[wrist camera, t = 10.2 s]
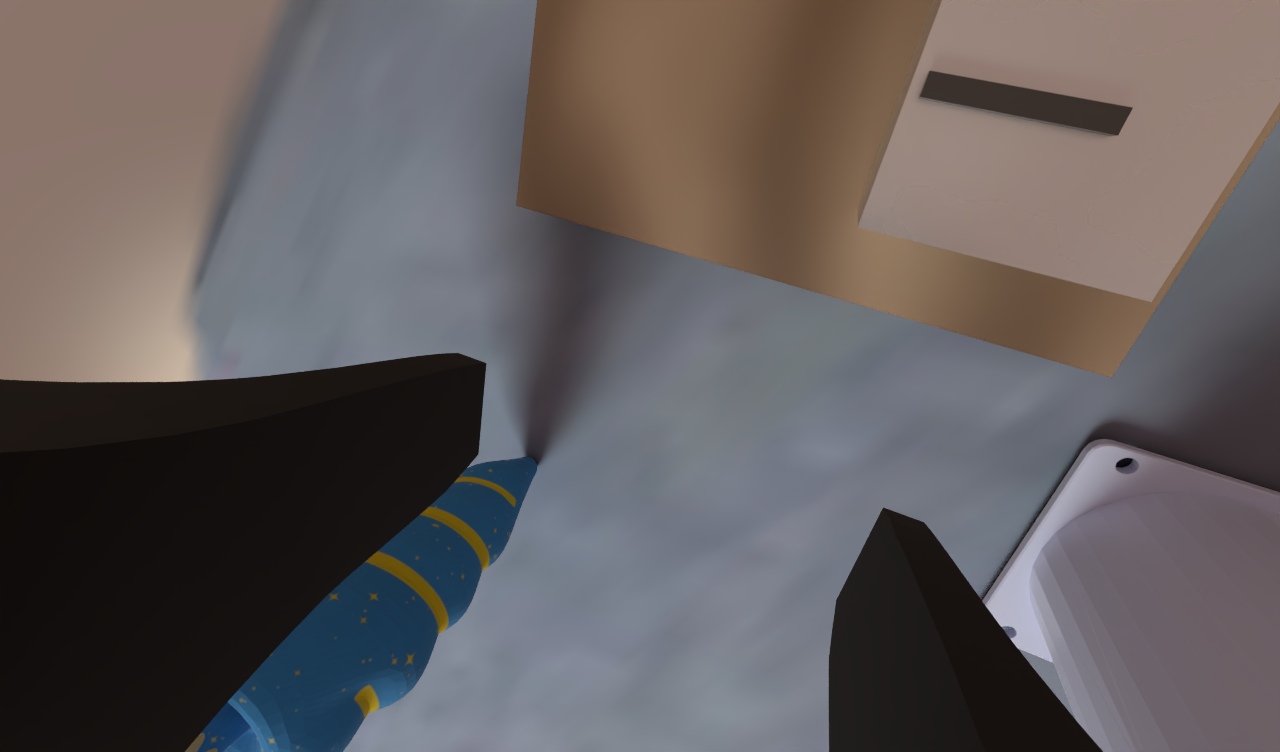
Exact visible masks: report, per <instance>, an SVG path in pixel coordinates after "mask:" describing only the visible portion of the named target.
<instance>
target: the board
mask: <svg viewBox="0 0 1280 752" xmlns="http://www.w3.org/2000/svg"><path fill="white" fill-rule="evenodd" d="M932 2H933V0H537V8H536V18H535V28H534V38H533V47H532V57H531V67H530V77H529V87H528V97H527V106H526V116H525V126H524V136H523V146H522V155H521V165H520V175H519V185H518V195H517V205H516V206H519V207H523V208H526V209H530V210H533V211H537V212H540V213H543V214H547V215H550V216H554V217H557V218H561V219H564V220H568V221H571V222H575V223H578V224H582V225H585V226H588V227H592V228H595V229H599V230H602V231H606V232H609V233H613V234H616V235H620V236H623V237H627V238H630V239H633V240H637V241H640V242H644V243H647V244H651V245H654V246H658V247H661V248H665V249H668V250H672V251H675V252H678V253H682V254H685V255H689V256H692V257H696V258H699V259H703V260H706V261H710V262H713V263H717V264H720V265H723V266H727V267H730V268H734V269H737V270H741V271H744V272H748V273H751V274H755V275H758V276H762V277H765V278H768V279H772V280H775V281H779V282H782V283H786V284H789V285H793V286H796V287H800V288H803V289H807V290H810V291H814V292H817V293H820V294H824V295H827V296H831V297H834V298H838V299H841V300H845V301H848V302H852V303H855V304H859V305H862V306H865V307H869V308H872V309H876V310H879V311H883V312H886V313H890V314H893V315H897V316H900V317H904V318H907V319H910V320H914V321H917V322H921V323H924V324H928V325H931V326H935V327H938V328H942V329H945V330H949V331H952V332H955V333H959V334H962V335H966V336H969V337H973V338H976V339H980V340H983V341H987V342H990V343H994V344H997V345H1000V346H1004V347H1007V348H1011V349H1014V350H1018V351H1021V352H1025V353H1028V354H1032V355H1035V356H1039V357H1042V358H1045V359H1049V360H1052V361H1056V362H1059V363H1063V364H1066V365H1070V366H1073V367H1077V368H1080V369H1084V370H1087V371H1090V372H1094V373H1097V374H1101V375H1104V376H1108V377H1111V378H1112V376H1113V374H1114V373H1115V371H1116V370H1117V368H1118V367H1119V365H1120V364H1121V362H1122V361H1123V359H1124V357H1125V356H1126V354H1127V353H1128V351H1129V350H1130V348H1131V347H1132V345H1133V344H1134V342H1135V340H1136V339H1137V337H1138V336H1139V334H1140V333H1141V331H1142V330H1143V328H1144V327H1145V325H1146V324H1147V322H1148V320H1149V319H1150V317H1151V316H1152V314H1153V313H1154V311H1155V310H1156V308H1157V307H1158V305H1159V303H1160V302H1161V300H1162V299H1163V297H1164V296H1165V294H1166V293H1167V291H1168V290H1169V288H1170V286H1171V285H1172V283H1173V282H1174V280H1175V279H1176V277H1177V276H1178V274H1179V273H1180V271H1181V270H1182V268H1183V266H1184V265H1185V263H1186V262H1187V260H1188V259H1189V257H1190V256H1191V254H1192V253H1193V251H1194V249H1195V248H1196V246H1197V245H1198V243H1199V242H1200V240H1201V239H1202V237H1203V236H1204V234H1205V232H1206V231H1207V229H1208V228H1209V226H1210V225H1211V223H1212V222H1213V220H1214V219H1215V217H1216V216H1217V214H1218V212H1219V211H1220V209H1221V208H1222V206H1223V205H1224V203H1225V202H1226V200H1227V199H1228V197H1229V195H1230V194H1231V192H1232V191H1233V189H1234V188H1235V186H1236V185H1237V183H1238V182H1239V180H1240V178H1241V177H1242V175H1243V174H1244V172H1245V171H1246V169H1247V168H1248V166H1249V165H1250V163H1251V161H1252V160H1253V158H1254V157H1255V155H1256V154H1257V152H1258V151H1259V149H1260V148H1261V146H1262V145H1263V143H1264V141H1265V140H1266V138H1267V137H1268V135H1269V134H1270V132H1271V131H1272V129H1273V128H1274V126H1275V124H1276V123H1277V121H1278V120H1279V118H1280V103H1279V104H1278V106H1277V107H1276V109H1275V110H1274V112H1273V113H1272V115H1271V117H1270V118H1269V120H1268V121H1267V123H1266V124H1265V126H1264V127H1263V129H1262V131H1261V132H1260V134H1259V135H1258V137H1257V138H1256V140H1255V142H1254V143H1253V145H1252V146H1251V148H1250V149H1249V151H1248V152H1247V154H1246V156H1245V157H1244V159H1243V160H1242V162H1241V163H1240V165H1239V166H1238V168H1237V170H1236V171H1235V173H1234V174H1233V176H1232V177H1231V179H1230V181H1229V182H1228V184H1227V185H1226V187H1225V188H1224V190H1223V191H1222V193H1221V195H1220V196H1219V198H1218V199H1217V201H1216V202H1215V204H1214V205H1213V207H1212V209H1211V210H1210V212H1209V213H1208V215H1207V216H1206V218H1205V220H1204V221H1203V223H1202V224H1201V226H1200V227H1199V229H1198V230H1197V232H1196V234H1195V235H1194V237H1193V238H1192V240H1191V241H1190V243H1189V245H1188V246H1187V248H1186V249H1185V251H1184V252H1183V254H1182V255H1181V257H1180V259H1179V260H1178V262H1177V263H1176V265H1175V266H1174V268H1173V269H1172V271H1171V273H1170V274H1169V276H1168V277H1167V279H1166V280H1165V282H1164V284H1163V285H1162V287H1161V288H1160V290H1159V291H1158V293H1157V294H1156V296H1155V298H1154V299H1153V301H1152V302H1149V301H1145V300H1141V299H1137V298H1133V297H1129V296H1125V295H1121V294H1117V293H1113V292H1109V291H1106V290H1102V289H1098V288H1094V287H1090V286H1086V285H1082V284H1078V283H1074V282H1070V281H1067V280H1063V279H1059V278H1055V277H1051V276H1047V275H1043V274H1039V273H1035V272H1031V271H1027V270H1024V269H1020V268H1016V267H1012V266H1008V265H1004V264H1000V263H996V262H992V261H988V260H984V259H981V258H977V257H973V256H969V255H965V254H961V253H957V252H953V251H949V250H945V249H941V248H938V247H934V246H930V245H926V244H922V243H918V242H914V241H910V240H906V239H902V238H898V237H895V236H891V235H887V234H883V233H879V232H875V231H871V230H867V229H863V228H859V227H858V219H857V207H858V204H859V202H860V199H861V196H862V193H863V191H864V188H865V185H866V183H867V180H868V177H869V174H870V172H871V169H872V166H873V163H874V161H875V158H876V155H877V153H878V150H879V147H880V144H881V142H882V139H883V136H884V133H885V131H886V128H887V125H888V122H889V120H890V117H891V114H892V112H893V109H894V106H895V103H896V101H897V98H898V95H899V92H900V90H901V87H902V84H903V81H904V79H905V76H906V73H907V71H908V68H909V65H910V62H911V60H912V57H913V54H914V51H915V49H916V46H917V43H918V40H919V38H920V35H921V32H922V30H923V27H924V24H925V21H926V19H927V16H928V13H929V10H930V8H931V5H932Z"/></svg>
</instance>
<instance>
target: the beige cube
mask: <svg viewBox="0 0 1280 752" xmlns="http://www.w3.org/2000/svg"><path fill="white" fill-rule="evenodd" d="M1279 103H1280V0H933V2H932V5H931V8H930V10H929V13H928V16H927V19H926V21H925V24H924V27H923V30H922V32H921V35H920V38H919V40H918V43H917V46H916V49H915V51H914V54H913V57H912V60H911V62H910V65H909V68H908V71H907V73H906V76H905V79H904V81H903V84H902V87H901V90H900V92H899V95H898V98H897V101H896V103H895V106H894V109H893V112H892V114H891V117H890V120H889V122H888V125H887V128H886V131H885V133H884V136H883V139H882V142H881V144H880V147H879V150H878V153H877V155H876V158H875V161H874V163H873V166H872V169H871V172H870V174H869V177H868V180H867V183H866V185H865V188H864V191H863V193H862V196H861V199H860V202H859V204H858V207H857V219H858V227H859V228H863V229H867V230H871V231H875V232H879V233H883V234H887V235H891V236H895V237H898V238H902V239H906V240H910V241H914V242H918V243H922V244H926V245H930V246H934V247H938V248H941V249H945V250H949V251H953V252H957V253H961V254H965V255H969V256H973V257H977V258H981V259H984V260H988V261H992V262H996V263H1000V264H1004V265H1008V266H1012V267H1016V268H1020V269H1024V270H1027V271H1031V272H1035V273H1039V274H1043V275H1047V276H1051V277H1055V278H1059V279H1063V280H1067V281H1070V282H1074V283H1078V284H1082V285H1086V286H1090V287H1094V288H1098V289H1102V290H1106V291H1109V292H1113V293H1117V294H1121V295H1125V296H1129V297H1133V298H1137V299H1141V300H1145V301H1149V302H1152V301H1153V299H1154V298H1155V296H1156V294H1157V293H1158V291H1159V290H1160V288H1161V287H1162V285H1163V284H1164V282H1165V280H1166V279H1167V277H1168V276H1169V274H1170V273H1171V271H1172V269H1173V268H1174V266H1175V265H1176V263H1177V262H1178V260H1179V259H1180V257H1181V255H1182V254H1183V252H1184V251H1185V249H1186V248H1187V246H1188V245H1189V243H1190V241H1191V240H1192V238H1193V237H1194V235H1195V234H1196V232H1197V230H1198V229H1199V227H1200V226H1201V224H1202V223H1203V221H1204V220H1205V218H1206V216H1207V215H1208V213H1209V212H1210V210H1211V209H1212V207H1213V205H1214V204H1215V202H1216V201H1217V199H1218V198H1219V196H1220V195H1221V193H1222V191H1223V190H1224V188H1225V187H1226V185H1227V184H1228V182H1229V181H1230V179H1231V177H1232V176H1233V174H1234V173H1235V171H1236V170H1237V168H1238V166H1239V165H1240V163H1241V162H1242V160H1243V159H1244V157H1245V156H1246V154H1247V152H1248V151H1249V149H1250V148H1251V146H1252V145H1253V143H1254V142H1255V140H1256V138H1257V137H1258V135H1259V134H1260V132H1261V131H1262V129H1263V127H1264V126H1265V124H1266V123H1267V121H1268V120H1269V118H1270V117H1271V115H1272V113H1273V112H1274V110H1275V109H1276V107H1277V106H1278V104H1279Z"/></svg>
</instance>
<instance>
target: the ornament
mask: <svg viewBox="0 0 1280 752" xmlns="http://www.w3.org/2000/svg"><path fill="white" fill-rule="evenodd" d="M536 471H537V464H536V462H535V460H534V459H533V458H531V457H522V458H517V459H510V460H501V461H492V462H485V463H481V464H477V465H474V466H472V467H469V468H467V469H465V471H464V472H463V473H462V474H461V475H460V476H459V478H458V479H457V480H456V481H455V482H454V483H453V484H452V485H451V486H450V487H449V489H448V490H447V491H446V492H445V493H444V494H443V495H442V496H441V497H439V498H438V499H437V500H436V501H435V502H434V503H433V504H432V505H430V506H429V507H428V508H427V509H426V510H425V511H424V512H422V513H421V514H420V515H419V516H418V517H417V518H416V519H414V520H413V521H412V522H411V523H410V524H409V525H407V526H406V527H405V528H404V529H403V530H402V531H400V532H399V533H398V534H397V535H396V536H395V537H393V538H392V539H391V540H390V541H389V542H388V543H386V544H385V545H384V546H383V547H382V548H381V549H379V550H378V551H377V552H376V553H375V554H374V555H372V556H371V557H370V558H369V559H368V560H367V561H365V562H364V563H363V564H362V565H361V566H360V567H358V568H357V569H356V570H355V571H354V572H352V573H351V574H350V575H349V576H348V577H347V578H346V579H345V580H344V581H342V582H341V583H340V584H339V585H338V586H337V587H336V588H335V589H334V590H333V591H332V592H331V593H329V594H328V595H327V596H326V597H325V598H324V599H323V600H322V601H321V602H320V603H319V604H318V605H317V606H316V607H315V609H314V610H313V611H312V612H311V613H310V614H309V615H308V616H307V617H306V618H305V619H304V620H303V621H302V622H301V623H300V624H299V625H298V626H297V627H296V628H295V629H294V630H293V631H292V632H291V633H290V634H289V636H288V637H287V638H286V639H285V640H284V641H283V642H282V643H281V644H280V645H279V646H278V647H277V648H276V649H275V650H274V651H273V652H272V654H271V655H270V656H269V657H268V658H267V659H266V660H265V661H264V662H263V663H262V665H261V666H260V667H259V668H258V669H257V670H256V671H255V672H254V673H253V674H252V676H251V677H250V678H249V679H248V680H247V681H246V682H245V683H244V684H243V685H242V687H241V688H240V689H239V690H238V691H237V692H236V693H235V694H234V695H233V696H232V698H231V699H230V700H229V701H228V702H227V703H226V704H225V705H224V707H223V708H222V709H221V710H220V711H219V712H218V714H217V715H216V716H215V717H214V718H213V719H212V721H211V722H210V723H209V724H208V725H207V726H206V728H205V729H204V730H203V731H202V732H201V733H200V735H199V736H198V737H197V738H196V739H195V740H194V742H193V743H192V744H191V745H190V746H189V747H188V749H187V750H186V751H185V752H343V751H344V749H345V748H346V747H347V745H348V744H349V743H350V741H351V740H352V738H353V736H354V735H355V733H356V732H357V730H358V728H359V727H360V725H361V724H362V722H363V720H364V719H365V717H366V716H367V714H368V713H370V712H373V711H375V710H378V709H381V708H384V707H386V706H389V705H391V704H393V703H394V702H396V701H398V700H400V699H401V698H403V697H404V696H405V695H406V694H407V693H408V692H409V691H410V690H412V689H413V687H414V686H415V685H416V683H417V682H418V680H419V679H420V677H421V676H422V674H423V672H424V670H425V668H426V666H427V664H428V661H429V659H430V656H431V653H432V651H433V648H434V645H435V642H436V639H437V636H438V634H439V633H441V632H443V631H444V630H446V629H448V628H449V627H451V626H452V625H453V624H455V623H456V622H457V621H458V620H459V619H460V618H461V617H462V616H463V614H464V613H465V612H466V610H467V609H468V607H469V605H470V603H471V601H472V599H473V596H474V594H475V591H476V588H477V585H478V582H479V579H480V576H481V573H482V570H484V569H486V568H487V567H489V566H490V565H491V564H492V563H494V562H495V561H496V560H497V558H498V557H499V556H500V554H501V553H502V552H503V550H504V548H505V546H506V544H507V542H508V540H509V537H510V535H511V532H512V530H513V527H514V524H515V521H516V519H517V516H518V513H519V511H520V508H521V505H522V503H523V500H524V498H525V495H526V493H527V491H528V488H529V486H530V484H531V482H532V479H533V477H534V475H535V473H536Z"/></svg>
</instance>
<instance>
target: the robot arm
mask: <svg viewBox="0 0 1280 752" xmlns="http://www.w3.org/2000/svg"><path fill="white" fill-rule="evenodd" d="M485 371H486V363H484V362H481V361H479V360H476V359H473V358H470V357H468V356H465V355H462V354H459V353H446V354H434V355H424V356H416V357H409V358H401V359H394V360H387V361H380V362H373V363H366V364H359V365H353V366H346V367H339V368H331V369H322V370H314V371H305V372H297V373H288V374H280V375H271V376H261V377H250V378H237V379H223V380H203V381H184V382H83V383H82V382H80V383H79V382H78V383H77V382H46V381H19V380H1V379H0V752H185V751H186V750H187V749H188V747H189V746H190V745H191V744H192V743H193V742H194V740H195V739H196V738H197V737H198V736H199V735H200V733H201V732H202V731H203V730H204V729H205V728H206V726H207V725H208V724H209V723H210V722H211V721H212V719H213V718H214V717H215V716H216V715H217V714H218V712H219V711H220V710H221V709H222V708H223V707H224V705H225V704H226V703H227V702H228V701H229V700H230V699H231V698H232V696H233V695H234V694H235V693H236V692H237V691H238V690H239V689H240V688H241V687H242V685H243V684H244V683H245V682H246V681H247V680H248V679H249V678H250V677H251V676H252V674H253V673H254V672H255V671H256V670H257V669H258V668H259V667H260V666H261V665H262V663H263V662H264V661H265V660H266V659H267V658H268V657H269V656H270V655H271V654H272V652H273V651H274V650H275V649H276V648H277V647H278V646H279V645H280V644H281V643H282V642H283V641H284V640H285V639H286V638H287V637H288V636H289V634H290V633H291V632H292V631H293V630H294V629H295V628H296V627H297V626H298V625H299V624H300V623H301V622H302V621H303V620H304V619H305V618H306V617H307V616H308V615H309V614H310V613H311V612H312V611H313V610H314V609H315V607H316V606H317V605H318V604H319V603H320V602H321V601H322V600H323V599H324V598H325V597H326V596H327V595H328V594H329V593H331V592H332V591H333V590H334V589H335V588H336V587H337V586H338V585H339V584H340V583H341V582H342V581H344V580H345V579H346V578H347V577H348V576H349V575H350V574H351V573H352V572H354V571H355V570H356V569H357V568H358V567H360V566H361V565H362V564H363V563H364V562H365V561H367V560H368V559H369V558H370V557H371V556H372V555H374V554H375V553H376V552H377V551H378V550H379V549H381V548H382V547H383V546H384V545H385V544H386V543H388V542H389V541H390V540H391V539H392V538H393V537H395V536H396V535H397V534H398V533H399V532H400V531H402V530H403V529H404V528H405V527H406V526H407V525H409V524H410V523H411V522H412V521H413V520H414V519H416V518H417V517H418V516H419V515H420V514H421V513H422V512H424V511H425V510H426V509H427V508H428V507H429V506H430V505H432V504H433V503H434V502H435V501H436V500H437V499H438V498H439V497H441V496H442V495H443V494H444V493H445V492H446V491H447V490H448V489H449V487H450V486H451V485H452V484H453V483H454V482H455V481H456V480H457V479H458V478H459V476H460V475H461V474H462V473H463V472H464V471H465V469H466V468H467V467H468V466H469V465H470V463H471V462H472V461H473V460H474V459H475V458H476V456H477V455H478V452H479V441H480V429H481V418H482V406H483V394H484V383H485ZM1124 458H1133V460H1132V463H1131V464H1129V465H1128V466H1126V467H1122V468H1121V467H1115V466H1116V463H1117V462H1118V461H1119V460H1120V459H1124ZM1003 626H1009V627H1012V628H1011V629H1009V630H1004V629H1002V627H1003ZM1019 649H1021V650H1023V651H1026V652H1028V653H1031V654H1033V655H1035V656H1038V657H1040V658H1043V659H1045V660H1048V661H1050V662H1053V663H1054V665H1055V668H1056V670H1057V673H1058V675H1059V678H1060V680H1061V683H1062V686H1063V688H1064V691H1065V693H1066V696H1067V698H1068V701H1069V703H1070V706H1071V709H1072V711H1073V714H1074V716H1075V719H1076V720H1075V719H1074V717H1073V716H1072V715H1071V714H1070V713H1069V711H1068V710H1067V709H1066V708H1065V706H1064V705H1063V704H1062V703H1061V702H1060V700H1059V699H1058V698H1057V697H1056V695H1055V694H1054V693H1053V692H1052V691H1051V689H1050V688H1049V687H1048V686H1047V684H1046V683H1045V682H1044V681H1043V680H1042V678H1041V677H1040V676H1039V675H1038V674H1037V672H1036V671H1035V670H1034V669H1033V667H1032V666H1031V665H1030V664H1029V662H1028V661H1027V660H1026V658H1025V657H1024V656H1023V655H1022V653H1021V652H1020V651H1019ZM829 752H1280V492H1277V491H1274V490H1271V489H1268V488H1264V487H1261V486H1258V485H1255V484H1252V483H1248V482H1245V481H1242V480H1239V479H1236V478H1232V477H1229V476H1226V475H1223V474H1220V473H1216V472H1213V471H1210V470H1207V469H1204V468H1200V467H1197V466H1194V465H1191V464H1188V463H1184V462H1181V461H1178V460H1175V459H1172V458H1168V457H1165V456H1162V455H1159V454H1156V453H1152V452H1149V451H1146V450H1143V449H1140V448H1136V447H1133V446H1130V445H1127V444H1124V443H1121V442H1117V441H1114V440H1109V439H1099V440H1095V441H1093V442H1091V443H1089V444H1088V445H1087V446H1086V447H1085V448H1084V449H1083V450H1082V452H1081V453H1080V455H1079V456H1078V458H1077V459H1076V461H1075V462H1074V464H1073V465H1072V467H1071V468H1070V470H1069V471H1068V473H1067V474H1066V476H1065V477H1064V479H1063V480H1062V482H1061V483H1060V485H1059V486H1058V488H1057V489H1056V491H1055V492H1054V494H1053V495H1052V497H1051V498H1050V500H1049V501H1048V503H1047V504H1046V506H1045V507H1044V509H1043V510H1042V512H1041V513H1040V515H1039V516H1038V518H1037V519H1036V521H1035V522H1034V524H1033V525H1032V527H1031V528H1030V530H1029V531H1028V533H1027V534H1026V536H1025V537H1024V539H1023V540H1022V542H1021V543H1020V545H1019V547H1018V548H1017V550H1016V551H1015V553H1014V554H1013V556H1012V557H1011V559H1010V560H1009V562H1008V563H1007V565H1006V566H1005V568H1004V569H1003V571H1002V572H1001V574H1000V575H999V577H998V578H997V580H996V581H995V583H994V584H993V586H992V587H991V589H990V590H989V592H988V593H987V595H986V596H985V598H984V599H983V601H982V600H981V599H980V598H979V596H978V595H977V593H976V592H975V591H974V589H973V588H972V587H971V585H970V584H969V582H968V581H967V580H966V578H965V577H964V575H963V574H962V573H961V571H960V570H959V568H958V567H957V566H956V564H955V563H954V561H953V560H952V559H951V557H950V556H949V555H948V553H947V552H946V550H945V549H944V548H943V546H942V545H941V543H940V542H939V541H938V539H937V538H936V537H935V535H934V534H933V533H932V532H931V530H930V529H929V528H928V527H927V525H926V524H925V523H924V522H921V521H919V520H916V519H913V518H910V517H908V516H905V515H902V514H899V513H897V512H894V511H891V510H888V509H886V508H883V509H882V511H881V513H880V515H879V517H878V519H877V521H876V523H875V525H874V527H873V529H872V531H871V533H870V535H869V537H868V539H867V541H866V543H865V545H864V547H863V549H862V551H861V553H860V555H859V557H858V559H857V561H856V563H855V564H854V566H853V568H852V570H851V572H850V574H849V576H848V578H847V580H846V582H845V584H844V586H843V588H842V590H841V592H840V594H839V596H838V598H837V600H836V607H835V614H834V622H833V629H832V637H831V646H830V655H829Z"/></svg>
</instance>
